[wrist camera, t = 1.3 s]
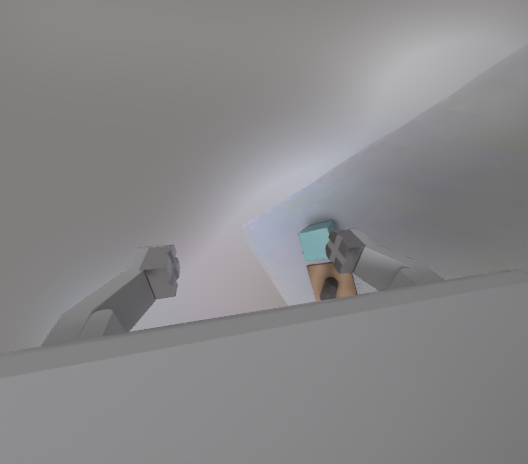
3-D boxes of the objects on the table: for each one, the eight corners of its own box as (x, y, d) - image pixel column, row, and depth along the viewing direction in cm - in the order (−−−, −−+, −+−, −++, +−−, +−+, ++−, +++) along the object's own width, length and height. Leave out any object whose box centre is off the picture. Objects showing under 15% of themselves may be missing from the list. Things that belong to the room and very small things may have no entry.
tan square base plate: (348, 260, 47) (346, 273, 40) (358, 299, 48) (358, 318, 41) (307, 265, 52) (299, 278, 45) (317, 301, 52) (310, 318, 46)
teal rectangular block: (333, 219, 46) (327, 227, 38) (339, 244, 47) (335, 256, 39) (308, 225, 49) (298, 233, 41) (314, 248, 50) (305, 261, 42)
